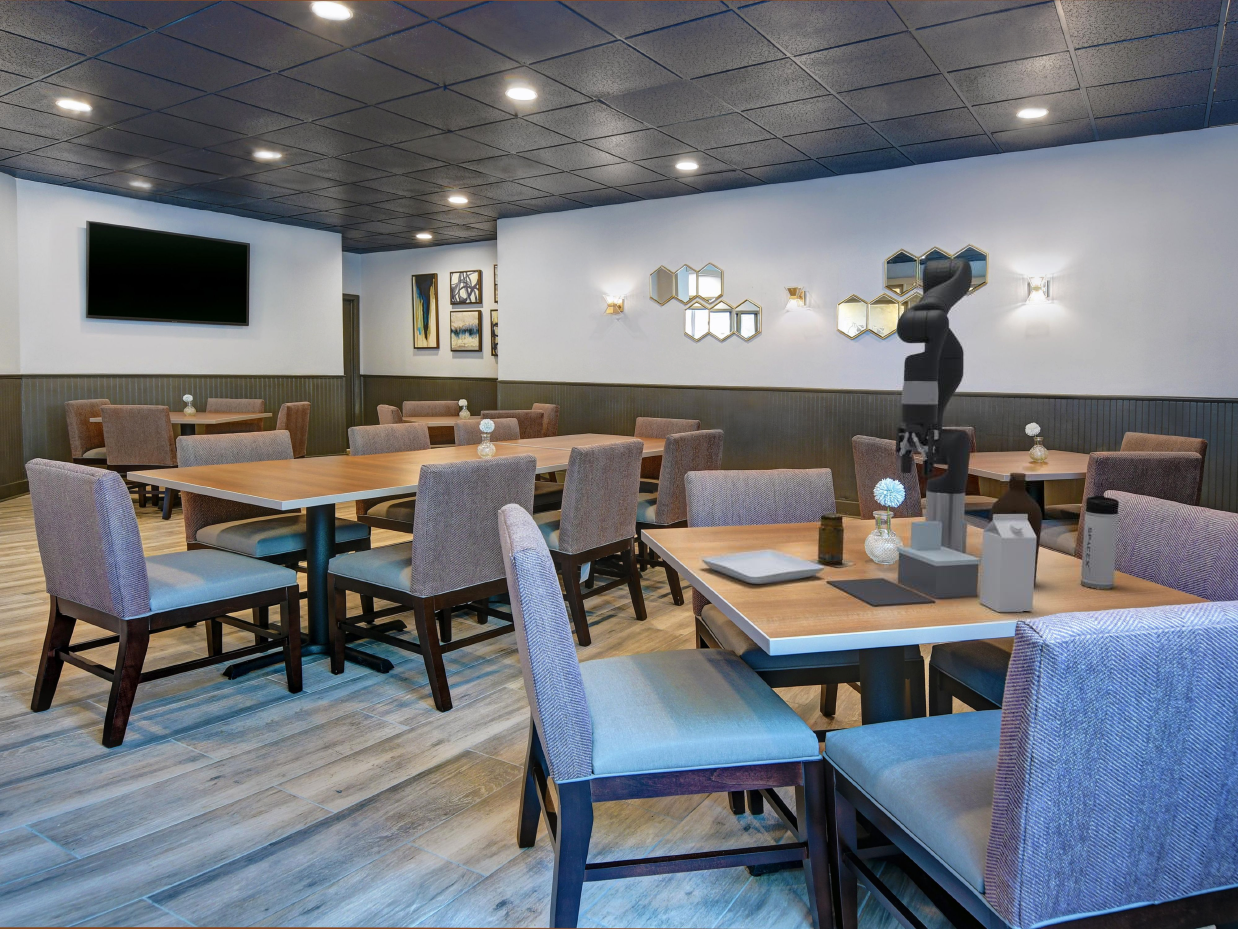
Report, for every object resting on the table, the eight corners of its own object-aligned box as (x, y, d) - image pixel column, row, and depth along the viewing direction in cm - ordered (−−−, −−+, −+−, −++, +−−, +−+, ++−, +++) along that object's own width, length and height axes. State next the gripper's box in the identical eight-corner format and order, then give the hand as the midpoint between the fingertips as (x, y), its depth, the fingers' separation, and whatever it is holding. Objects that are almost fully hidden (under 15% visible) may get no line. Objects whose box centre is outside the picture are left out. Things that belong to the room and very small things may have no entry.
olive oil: (1047, 589, 178) (1054, 476, 175) (999, 589, 178) (1005, 475, 175) (1023, 578, 188) (1030, 470, 186) (978, 577, 188) (983, 470, 186)
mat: (882, 579, 186) (882, 577, 186) (935, 602, 166) (935, 600, 166) (826, 582, 182) (826, 580, 182) (873, 606, 163) (873, 604, 163)
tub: (897, 582, 183) (899, 551, 182) (936, 580, 185) (938, 550, 185) (935, 598, 170) (936, 565, 169) (977, 595, 172) (978, 563, 171)
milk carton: (978, 603, 166) (983, 511, 164) (1012, 602, 167) (1017, 511, 165) (997, 613, 159) (1003, 517, 157) (1032, 612, 160) (1038, 517, 158)
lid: (896, 556, 183) (898, 521, 182) (938, 554, 185) (940, 519, 184) (936, 571, 169) (937, 532, 168) (980, 569, 171) (982, 531, 170)
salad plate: (752, 590, 176) (752, 575, 176) (698, 570, 195) (698, 556, 195) (827, 580, 186) (827, 565, 186) (769, 562, 205) (769, 548, 205)
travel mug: (1108, 583, 183) (1115, 496, 181) (1116, 590, 177) (1122, 500, 175) (1077, 581, 185) (1083, 494, 183) (1083, 588, 179) (1089, 498, 177)
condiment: (827, 558, 208) (829, 512, 207) (855, 564, 201) (857, 516, 200) (809, 562, 203) (811, 515, 202) (838, 568, 197) (839, 519, 196)
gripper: (954, 403, 173) (950, 478, 175) (916, 401, 187) (913, 471, 188) (922, 403, 171) (919, 479, 173) (887, 401, 185) (884, 472, 187)
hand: (916, 475), depth 181 cm, fingers open, 8 cm apart
